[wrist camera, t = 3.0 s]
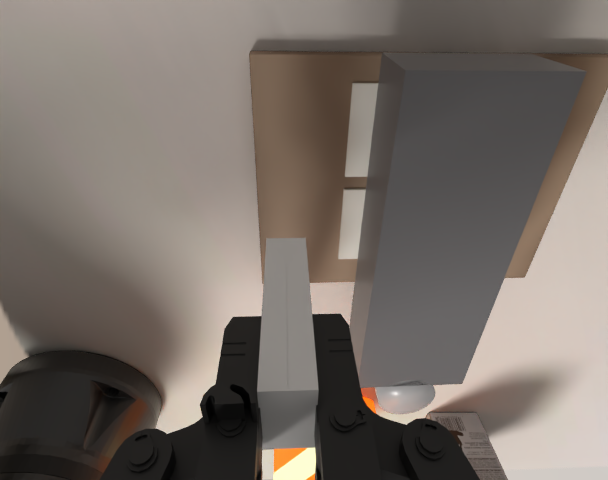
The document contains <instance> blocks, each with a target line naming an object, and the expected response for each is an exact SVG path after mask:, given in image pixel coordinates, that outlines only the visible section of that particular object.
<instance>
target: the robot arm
mask: <svg viewBox="0 0 608 480" xmlns="http://www.w3.org/2000/svg"><path fill="white" fill-rule="evenodd" d="M200 407H201V411H202V415H203V417H202V418H201V419H200V420H199V421H197V422H196V423H195V424H193V425H190V426H188V427H186V428H183V429H180V430H178V431H175V432H172V433H169V434H166V433H165V432H163V431H161V430H158V429H155V428H156V425H157V421H158V417H159V414H160V410H161V398H160V395H159V393H158V391H157V389H156V388H155V386H154V385H153V384H152V383H151V381H150V380H149V379H147V378H146V377H145V376H144V375H143V374H141V373H140V372H138V371H137V370H135V369H134V368H132V367H130V366H128V365H126V364H124V363H122V362H119V361H117V360H114V359H111V358H108V357H105V356H101V355H97V354H92V353H85V352H76V351H56V352H47V353H42V354H38V355H34V356H31V357H28V358H26V359H24V360H22V361H20V362H19V363H17V364H16V365H15V366H13V367H12V368H11V369H10V371H9V372H8V374H7V375H6V377H5V378H4V380H3V381H2V383H1V384H0V480H262V450H263V449H290V448H315V454H316V467H315V480H480V479H479V477H478V475H477V474H476V472H475V470H474V469H473V467H472V466H471V464H470V462H469V461H468V459H467V457H466V456H465V454H464V452H463V451H462V449H461V448H460V446H459V444H458V443H457V441H456V439H455V438H454V436H453V435H452V434H451V433H450V432H449V430H448V429H447V428H446V427H444V426H443V425H441V424H440V423H438V422H437V421H434V420H430V419H427V418H423V419H415V420H414V421H412V422H410V423H408V425H405V424H401V423H398V422H394V421H391V420H388V419H385V418H383V417H380V416H379V415H377V414H376V413H374V412H373V411H372V410H371V409H370V408H369V407H368V406H367V404H366V403H365V401H364V399H363V396H362V393H361V388H360V383H359V377H358V372H357V367H356V361H355V356H354V352H353V345H352V342H351V334H350V329H349V325H348V324H347V322H346V321H345V319H344V318H343V317H342V315H341V314H312V306H311V295H310V283H309V271H308V259H307V247H306V238H266V254H265V270H264V286H263V303H262V316H254V317H233V318H232V319H231V321H230V322H229V324H228V325H227V326H226V328H225V330H224V336H223V345H222V349H221V357H220V361H219V367H218V373H217V380H216V385H214V386H212V387H211V388H210V389H209V390H208V391H207V392H206V393H205V394H204V396H203V398H202V401H201V403H200Z"/></svg>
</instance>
